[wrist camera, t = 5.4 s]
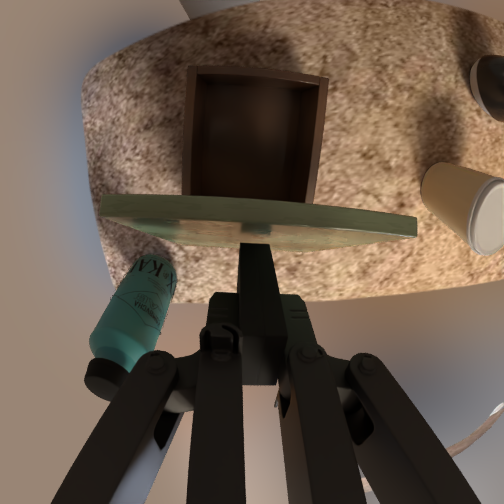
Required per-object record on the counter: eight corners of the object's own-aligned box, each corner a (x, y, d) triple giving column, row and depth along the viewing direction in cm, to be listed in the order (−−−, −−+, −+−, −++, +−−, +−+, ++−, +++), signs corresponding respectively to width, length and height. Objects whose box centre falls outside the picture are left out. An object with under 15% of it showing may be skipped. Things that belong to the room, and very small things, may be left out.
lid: (100, 193, 8) (98, 216, 8) (417, 217, 9) (418, 237, 9) (181, 236, 25) (181, 245, 25) (307, 243, 26) (306, 252, 26)
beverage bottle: (167, 296, 38) (130, 420, 20) (127, 272, 36) (65, 387, 18) (189, 263, 35) (154, 395, 18) (146, 236, 33) (74, 354, 16)
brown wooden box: (201, 78, 25) (188, 65, 18) (308, 86, 26) (329, 78, 19) (194, 211, 32) (182, 238, 25) (292, 217, 33) (305, 246, 26)
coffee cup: (452, 222, 34) (502, 260, 23) (409, 214, 33) (462, 255, 23) (467, 164, 30) (525, 190, 19) (423, 148, 29) (487, 170, 18)
